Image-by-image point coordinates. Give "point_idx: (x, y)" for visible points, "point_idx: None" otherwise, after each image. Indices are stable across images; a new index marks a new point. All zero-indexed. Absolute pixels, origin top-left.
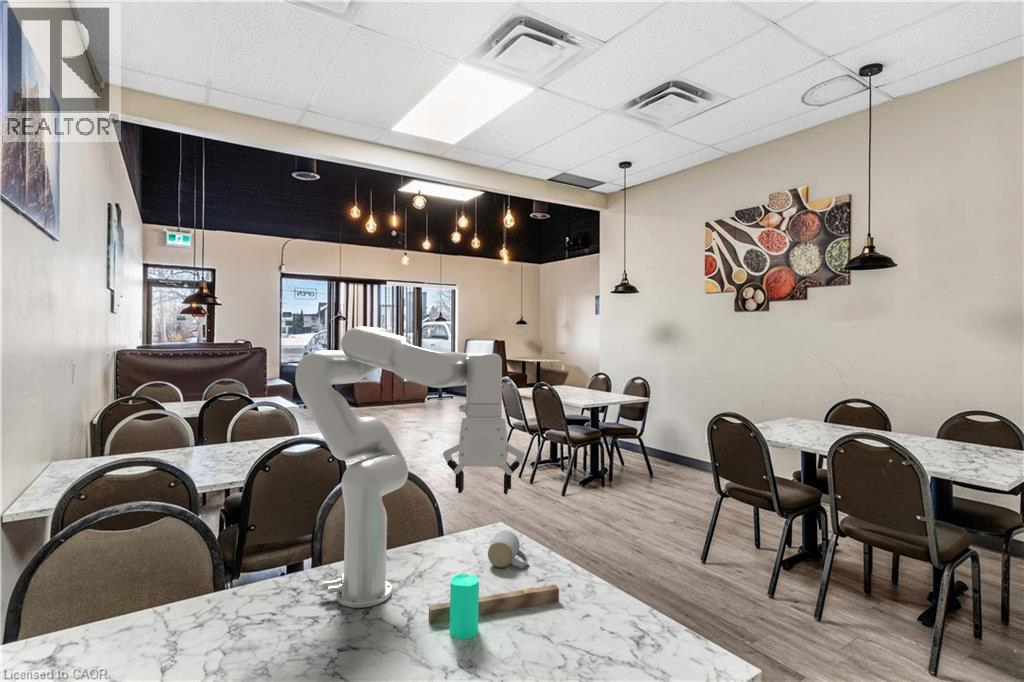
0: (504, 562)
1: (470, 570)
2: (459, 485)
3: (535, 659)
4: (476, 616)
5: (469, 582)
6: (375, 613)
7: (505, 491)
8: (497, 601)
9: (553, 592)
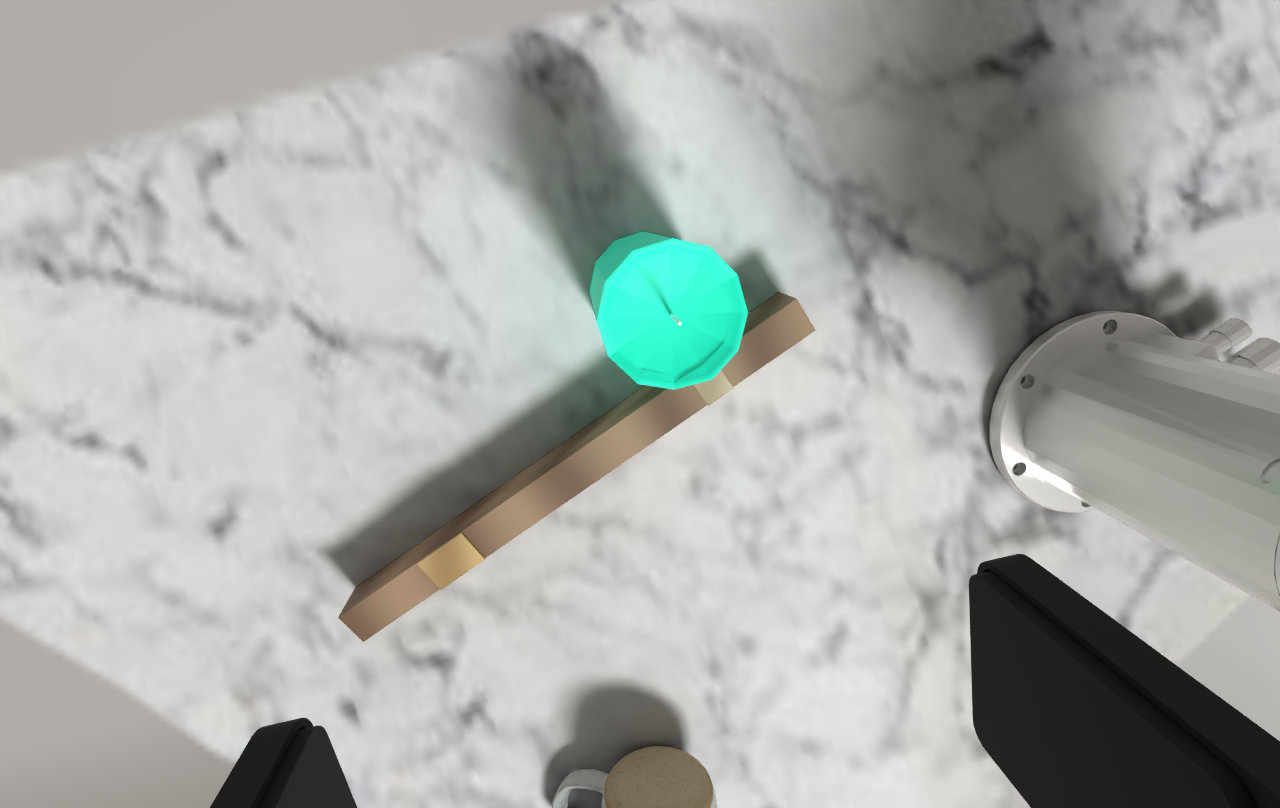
0: (634, 764)
1: (756, 696)
2: (1085, 619)
3: (322, 182)
4: (594, 284)
5: (647, 317)
6: (1000, 305)
7: (268, 746)
8: (561, 458)
9: (362, 596)
